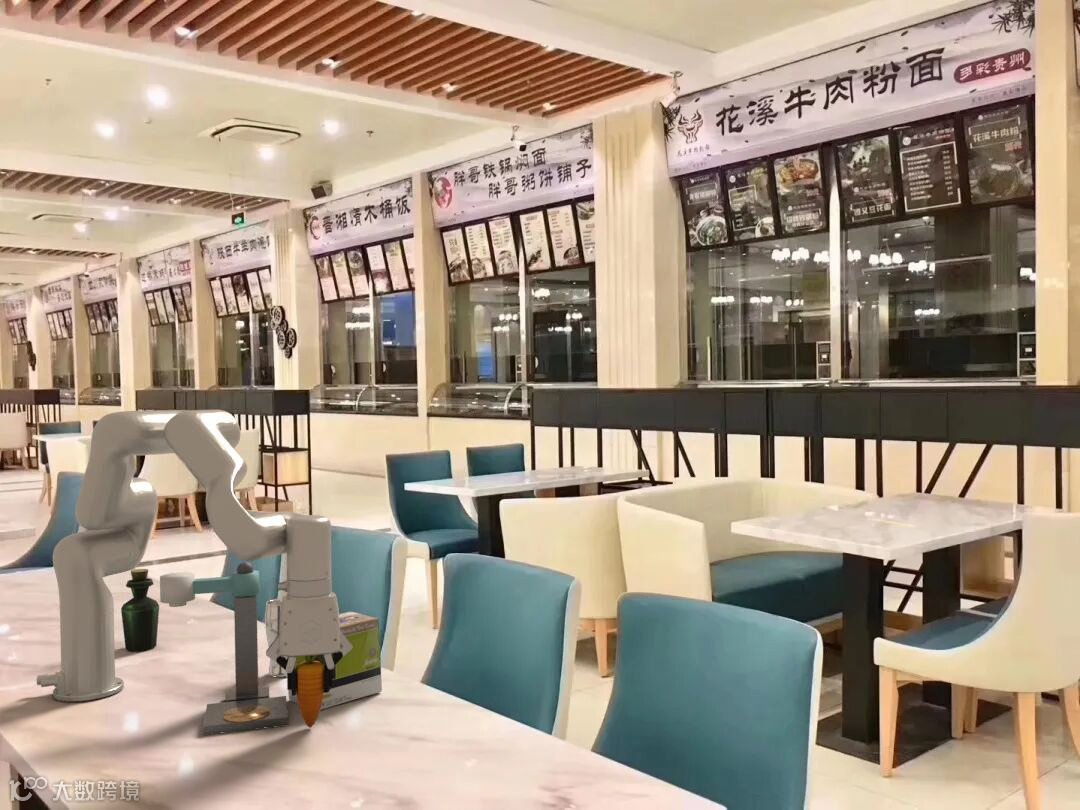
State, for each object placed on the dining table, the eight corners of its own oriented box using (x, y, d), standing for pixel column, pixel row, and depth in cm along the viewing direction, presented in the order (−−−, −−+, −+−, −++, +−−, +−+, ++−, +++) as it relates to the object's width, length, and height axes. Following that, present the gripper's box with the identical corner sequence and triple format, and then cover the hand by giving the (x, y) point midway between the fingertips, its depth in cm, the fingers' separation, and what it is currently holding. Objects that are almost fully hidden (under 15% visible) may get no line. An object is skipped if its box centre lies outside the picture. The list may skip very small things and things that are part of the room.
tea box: (353, 682, 187) (352, 609, 187) (382, 693, 180) (381, 617, 180) (286, 700, 177) (284, 623, 177) (314, 713, 170) (312, 632, 169)
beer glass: (291, 679, 190) (290, 606, 190) (259, 677, 191) (258, 604, 191) (306, 669, 197) (305, 598, 196) (276, 667, 198) (275, 597, 198)
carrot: (298, 722, 164) (297, 638, 164) (326, 721, 164) (326, 637, 164) (293, 733, 159) (292, 645, 159) (322, 732, 160) (322, 645, 159)
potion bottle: (128, 655, 209) (126, 575, 209) (116, 648, 215) (115, 570, 215) (165, 648, 214) (163, 570, 214) (153, 641, 220) (151, 565, 220)
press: (203, 735, 159) (201, 618, 159) (209, 700, 177) (207, 595, 177) (288, 725, 163) (286, 611, 163) (285, 692, 182) (283, 589, 181)
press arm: (259, 595, 180) (258, 558, 180) (259, 602, 174) (258, 563, 174) (162, 602, 175) (161, 564, 175) (158, 609, 169) (158, 570, 169)
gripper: (258, 595, 155) (258, 703, 156) (361, 588, 160) (361, 693, 160) (258, 586, 162) (258, 689, 163) (356, 580, 167) (357, 680, 168)
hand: (309, 690), depth 162 cm, fingers closed on carrot, 4 cm apart
